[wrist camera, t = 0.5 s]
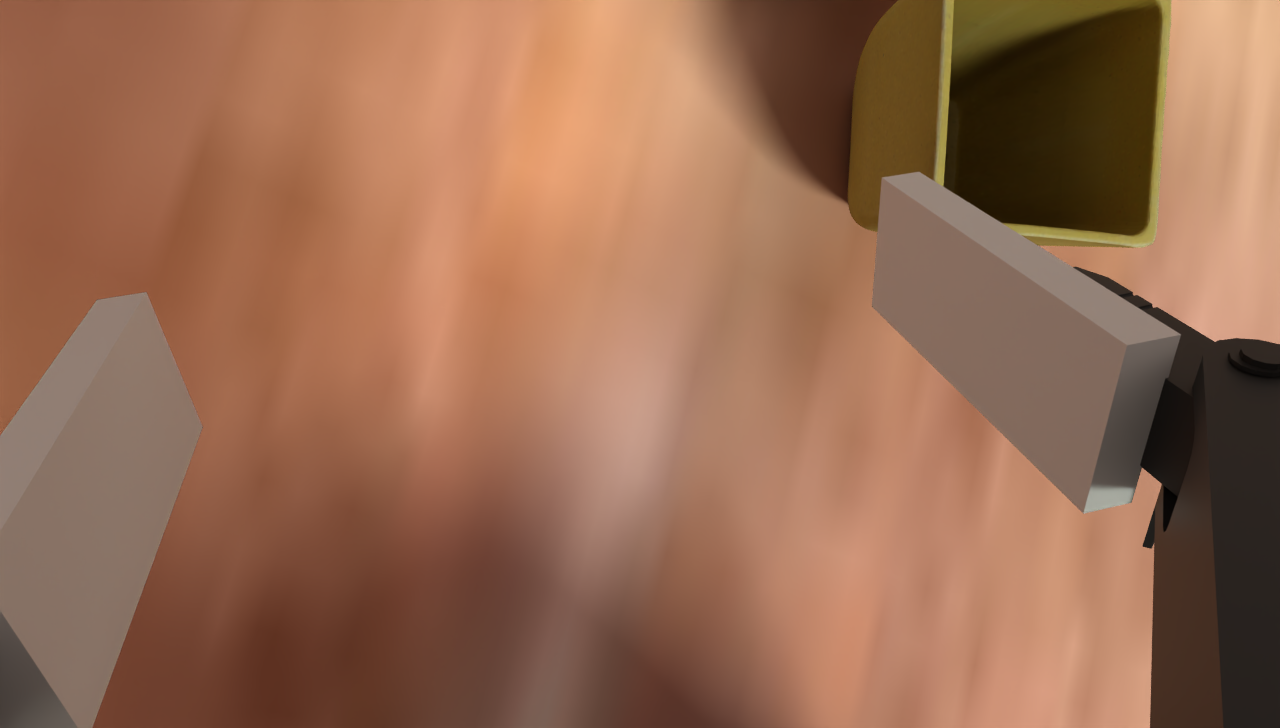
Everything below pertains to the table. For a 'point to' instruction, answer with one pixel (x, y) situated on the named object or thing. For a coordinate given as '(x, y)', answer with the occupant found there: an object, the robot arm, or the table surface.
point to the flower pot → (1019, 113)
